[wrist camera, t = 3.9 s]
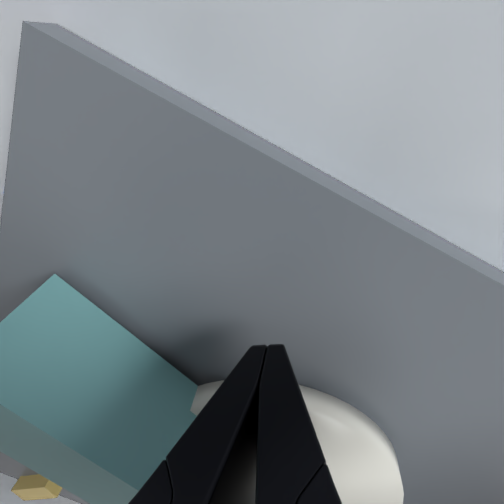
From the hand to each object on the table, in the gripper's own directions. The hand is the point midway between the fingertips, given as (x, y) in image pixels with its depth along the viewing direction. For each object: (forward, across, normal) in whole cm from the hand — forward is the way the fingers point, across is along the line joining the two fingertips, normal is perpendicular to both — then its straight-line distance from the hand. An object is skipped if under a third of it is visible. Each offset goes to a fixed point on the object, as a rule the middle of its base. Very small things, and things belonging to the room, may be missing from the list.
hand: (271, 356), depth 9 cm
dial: (+2, +3, +5) cm, 6 cm away
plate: (+3, +2, +8) cm, 9 cm away
